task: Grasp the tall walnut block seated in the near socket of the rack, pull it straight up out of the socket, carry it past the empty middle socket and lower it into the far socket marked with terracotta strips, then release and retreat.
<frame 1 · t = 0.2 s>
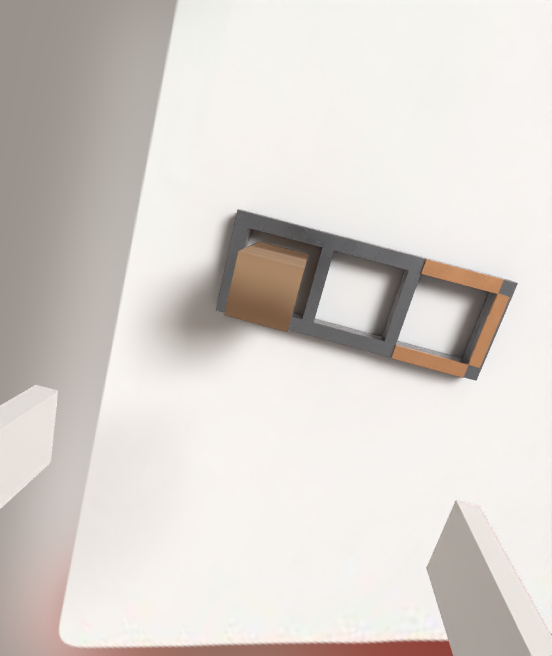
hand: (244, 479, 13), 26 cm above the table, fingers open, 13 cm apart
rack: (358, 293, 37), on the table
walnut block: (277, 272, 37), resting in rack
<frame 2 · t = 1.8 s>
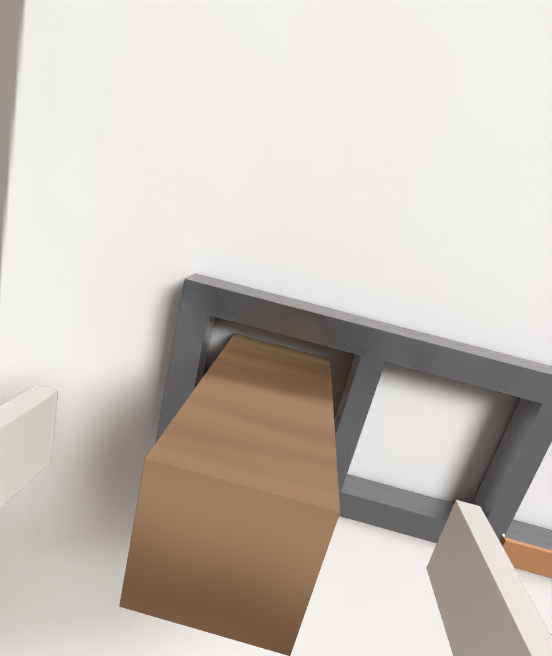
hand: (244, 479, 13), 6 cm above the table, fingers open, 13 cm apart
rack: (427, 432, 19), on the table
walnut block: (270, 390, 19), resting in rack
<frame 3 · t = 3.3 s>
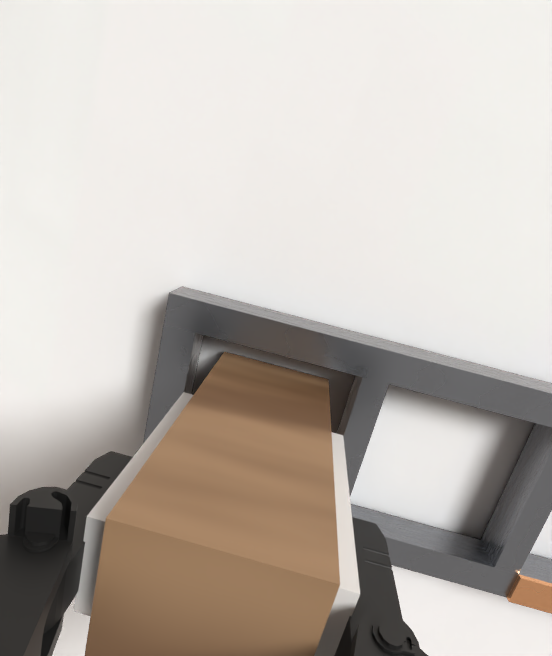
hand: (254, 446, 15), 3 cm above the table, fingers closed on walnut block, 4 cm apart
rack: (434, 458, 18), on the table
walnut block: (263, 412, 18), resting in rack, touching gripper
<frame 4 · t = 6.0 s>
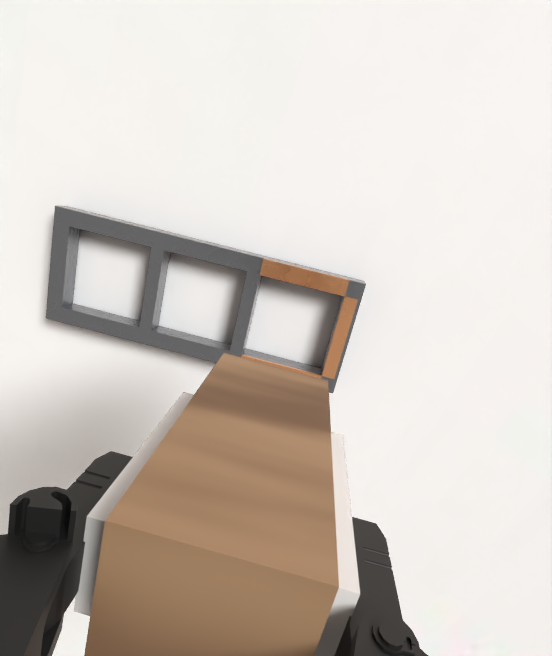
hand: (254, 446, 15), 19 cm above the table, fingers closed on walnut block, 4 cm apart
rack: (202, 298, 33), on the table
walnut block: (263, 413, 18), point 16 cm above the table, touching gripper
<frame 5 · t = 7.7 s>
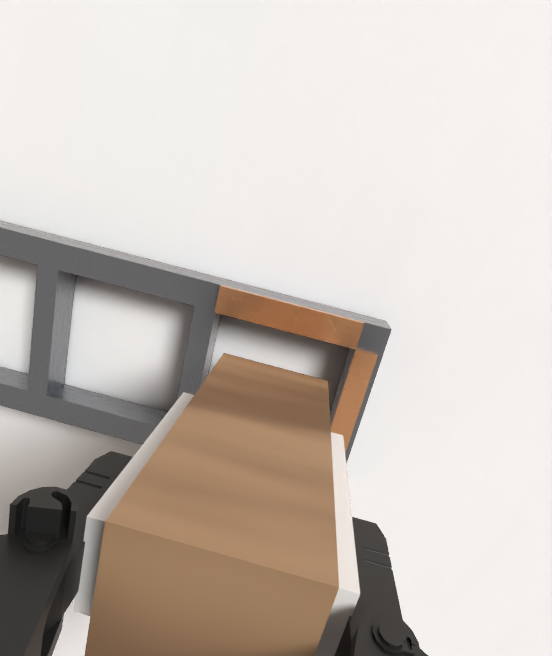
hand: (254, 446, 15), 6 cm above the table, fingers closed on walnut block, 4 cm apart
rack: (130, 343, 21), on the table
walnut block: (263, 414, 18), point 3 cm above the table, touching gripper
when the fingers open (3 cm above the table, at t = 8.8 s): walnut block stays where it is, resting in rack.
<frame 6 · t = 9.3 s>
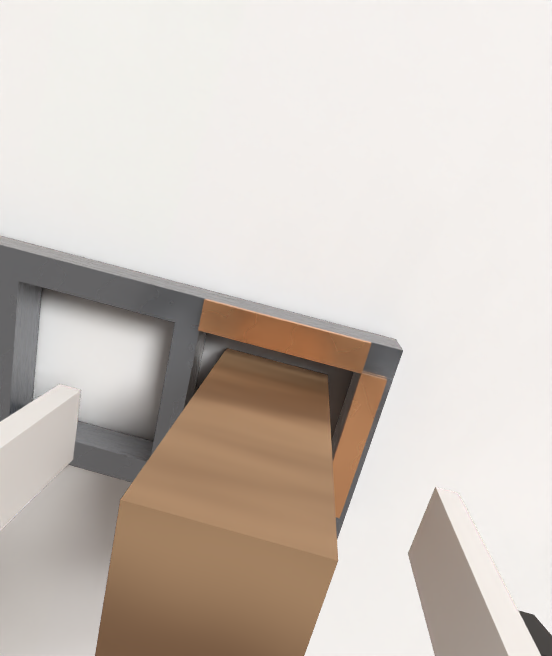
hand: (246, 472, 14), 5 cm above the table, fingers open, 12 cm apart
rack: (105, 363, 19), on the table
walnut block: (265, 407, 18), resting in rack
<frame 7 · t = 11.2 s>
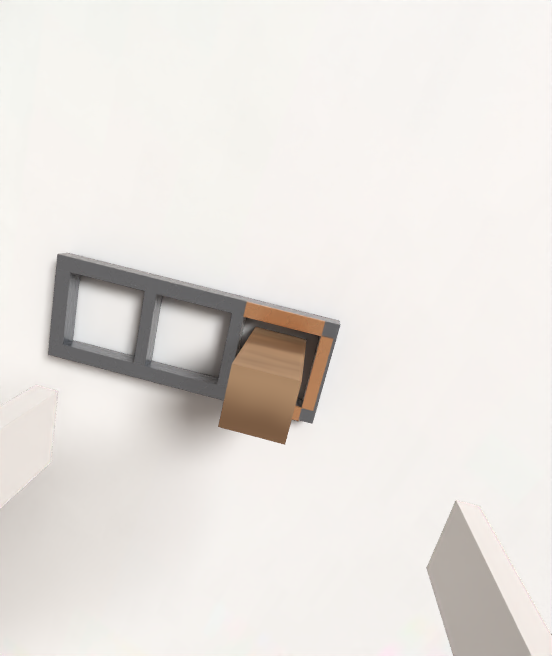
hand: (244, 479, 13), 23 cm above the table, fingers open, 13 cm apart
rack: (192, 335, 36), on the table
walnut block: (275, 357, 36), resting in rack
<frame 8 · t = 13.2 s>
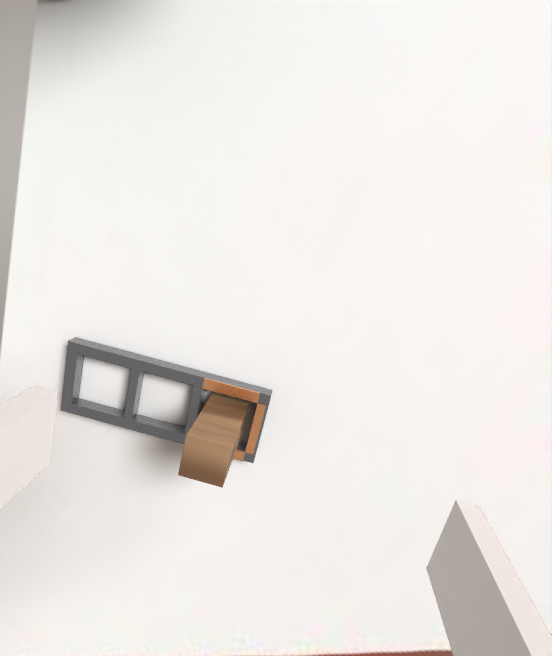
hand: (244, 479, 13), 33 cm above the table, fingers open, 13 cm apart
rack: (166, 397, 50), on the table
walnut block: (227, 414, 49), resting in rack
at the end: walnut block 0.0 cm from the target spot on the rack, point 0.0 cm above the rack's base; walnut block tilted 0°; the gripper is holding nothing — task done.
